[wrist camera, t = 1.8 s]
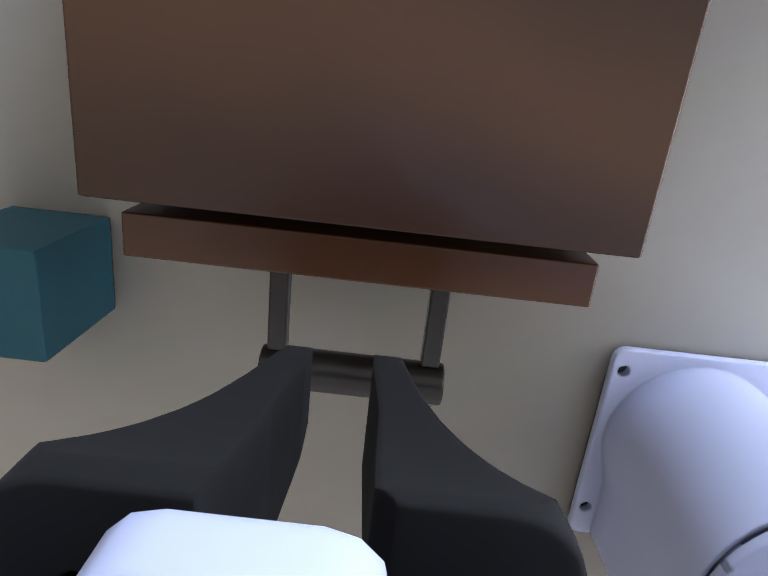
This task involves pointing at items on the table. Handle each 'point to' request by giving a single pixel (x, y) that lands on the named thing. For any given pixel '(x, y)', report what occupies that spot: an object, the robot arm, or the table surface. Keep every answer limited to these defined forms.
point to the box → (51, 279)
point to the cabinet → (388, 111)
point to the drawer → (359, 275)
